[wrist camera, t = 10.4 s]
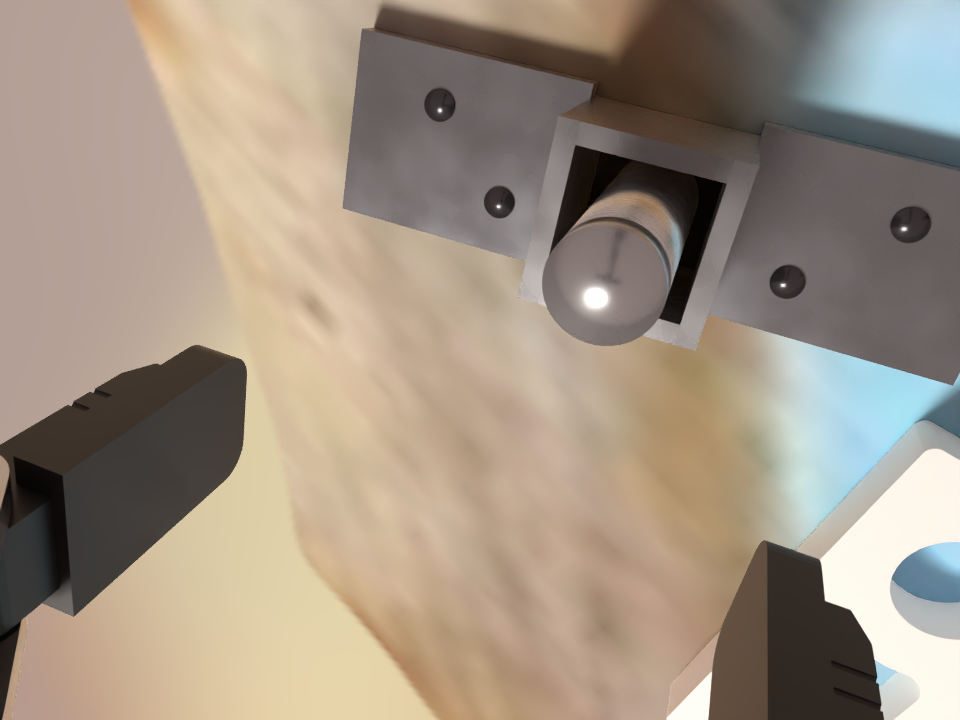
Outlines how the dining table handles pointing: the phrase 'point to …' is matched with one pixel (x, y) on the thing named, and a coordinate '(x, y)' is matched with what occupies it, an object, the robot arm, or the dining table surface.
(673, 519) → the dining table surface
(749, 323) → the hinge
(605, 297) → the pin
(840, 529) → the holder
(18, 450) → the robot arm
